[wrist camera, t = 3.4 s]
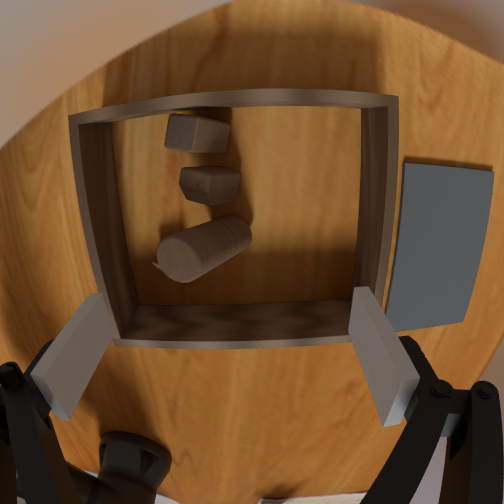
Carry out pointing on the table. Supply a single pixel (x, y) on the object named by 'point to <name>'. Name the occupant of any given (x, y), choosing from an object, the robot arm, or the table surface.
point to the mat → (437, 244)
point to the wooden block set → (205, 192)
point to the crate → (234, 315)
